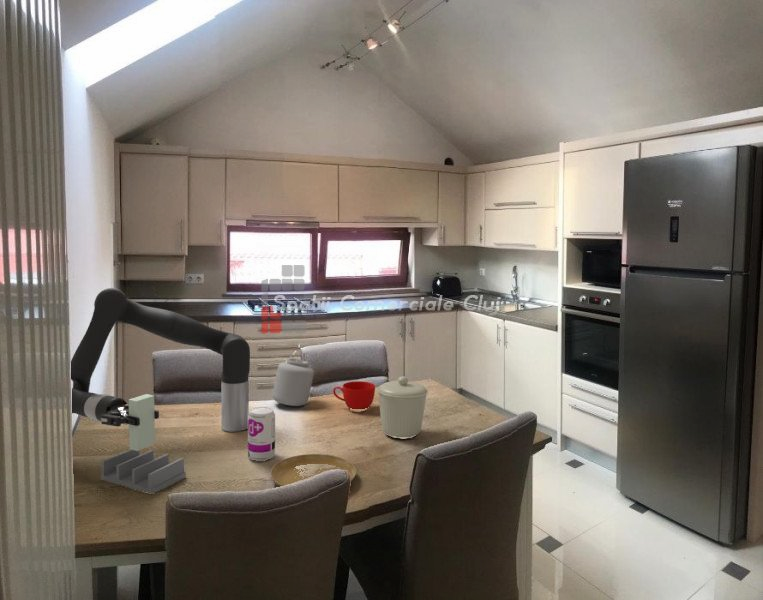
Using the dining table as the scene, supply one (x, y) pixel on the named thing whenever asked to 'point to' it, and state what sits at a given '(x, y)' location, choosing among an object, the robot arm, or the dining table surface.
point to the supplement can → (261, 433)
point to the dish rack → (142, 470)
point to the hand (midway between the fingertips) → (148, 418)
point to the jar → (293, 382)
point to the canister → (402, 407)
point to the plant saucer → (286, 473)
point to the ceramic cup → (357, 394)
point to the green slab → (142, 422)
